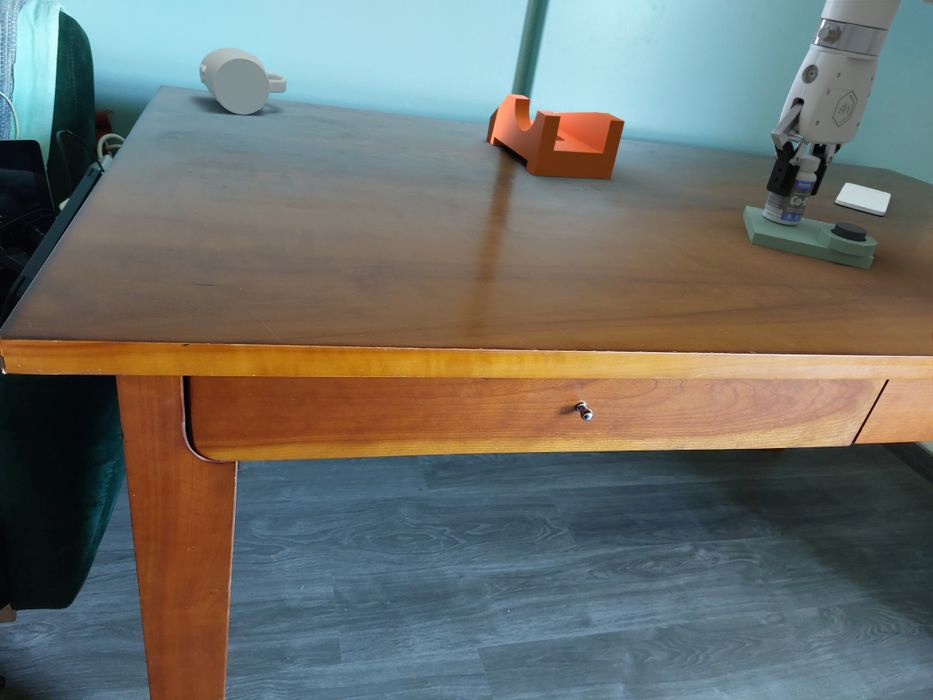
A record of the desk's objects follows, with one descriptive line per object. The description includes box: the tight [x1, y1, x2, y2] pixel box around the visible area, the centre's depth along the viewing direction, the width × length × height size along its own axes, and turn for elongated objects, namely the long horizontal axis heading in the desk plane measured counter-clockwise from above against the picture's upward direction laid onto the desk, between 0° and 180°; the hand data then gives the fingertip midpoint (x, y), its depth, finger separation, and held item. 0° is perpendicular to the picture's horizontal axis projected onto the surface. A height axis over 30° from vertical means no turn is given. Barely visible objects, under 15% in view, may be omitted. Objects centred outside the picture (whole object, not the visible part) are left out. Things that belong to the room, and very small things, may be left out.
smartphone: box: [835, 182, 892, 216], centre depth 118 cm, size 7×1×15 cm
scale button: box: [832, 221, 868, 242], centre depth 89 cm, size 4×4×1 cm
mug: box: [198, 47, 288, 116], centre depth 110 cm, size 12×9×8 cm
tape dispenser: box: [486, 93, 626, 180], centre depth 110 cm, size 18×13×8 cm
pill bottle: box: [763, 152, 820, 225], centre depth 93 cm, size 5×5×8 cm
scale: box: [742, 205, 878, 270], centre depth 93 cm, size 14×13×3 cm
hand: (791, 191), depth 93 cm, fingers closed on pill bottle, 4 cm apart
